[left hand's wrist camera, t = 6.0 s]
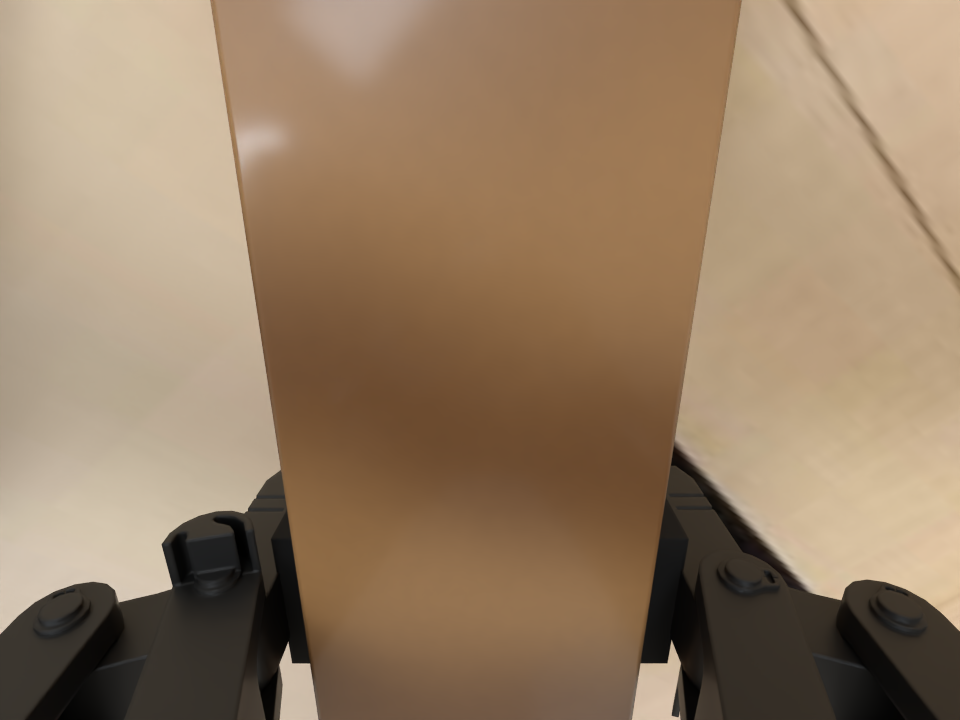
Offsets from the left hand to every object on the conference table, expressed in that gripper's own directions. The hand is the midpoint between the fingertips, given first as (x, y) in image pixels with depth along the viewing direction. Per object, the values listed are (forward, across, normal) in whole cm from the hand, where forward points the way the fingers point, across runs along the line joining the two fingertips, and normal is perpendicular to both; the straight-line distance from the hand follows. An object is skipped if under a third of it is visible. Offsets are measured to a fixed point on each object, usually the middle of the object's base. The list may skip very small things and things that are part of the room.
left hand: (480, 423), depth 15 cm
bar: (+1, 0, -23) cm, 23 cm away
